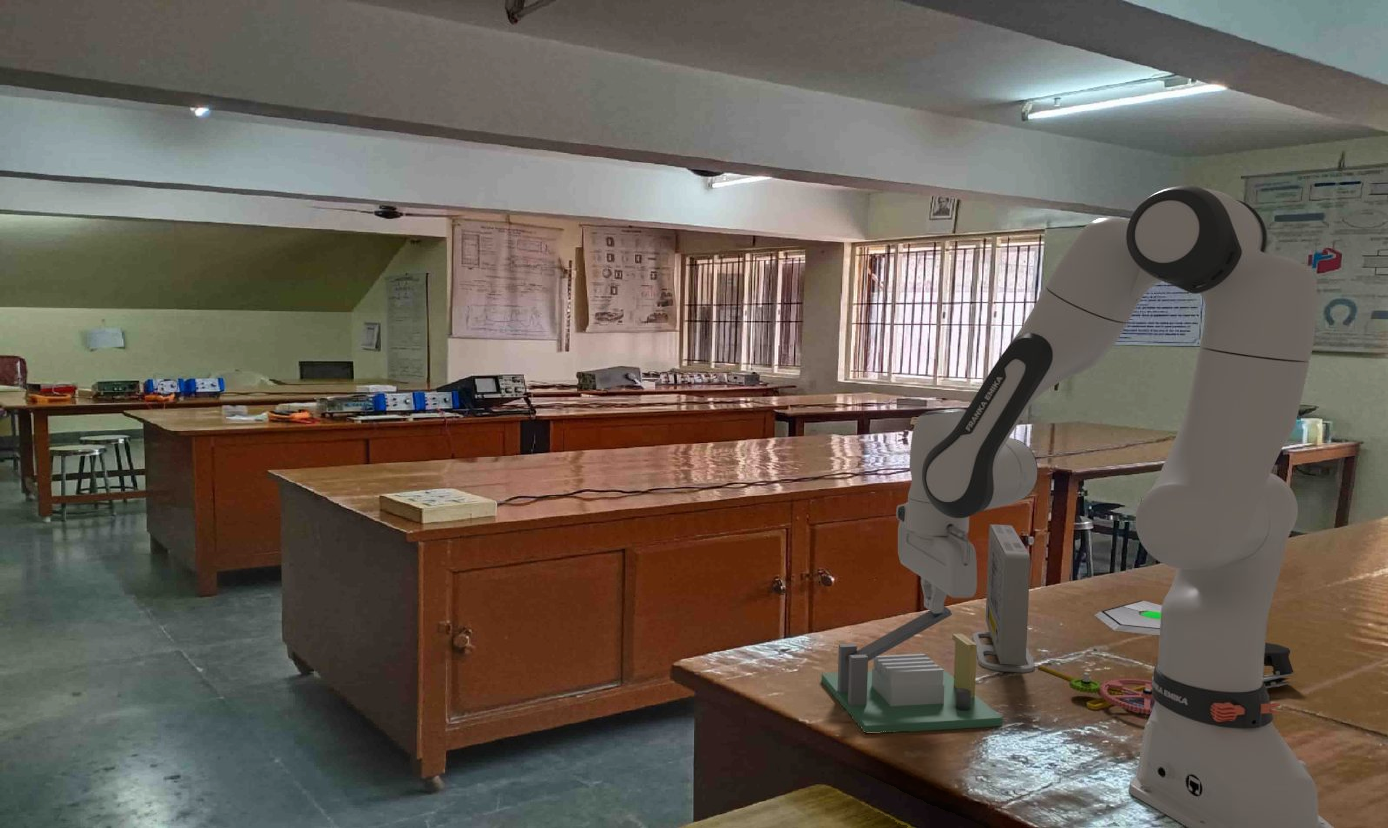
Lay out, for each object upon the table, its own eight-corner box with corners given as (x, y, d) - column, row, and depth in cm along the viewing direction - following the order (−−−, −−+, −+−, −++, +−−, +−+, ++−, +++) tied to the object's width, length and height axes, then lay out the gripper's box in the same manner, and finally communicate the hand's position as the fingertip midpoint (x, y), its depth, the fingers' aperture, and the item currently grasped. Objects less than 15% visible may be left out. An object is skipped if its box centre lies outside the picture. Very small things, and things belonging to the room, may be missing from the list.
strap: (952, 615, 141) (950, 609, 141) (854, 669, 139) (852, 663, 139) (943, 608, 144) (940, 603, 144) (847, 662, 142) (845, 656, 142)
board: (1002, 725, 134) (1004, 661, 133) (865, 733, 131) (867, 668, 130) (941, 674, 154) (943, 618, 153) (821, 680, 151) (822, 623, 150)
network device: (1040, 680, 152) (1045, 556, 150) (982, 676, 154) (987, 553, 152) (1019, 631, 177) (1023, 524, 175) (969, 628, 179) (974, 521, 177)
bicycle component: (1253, 693, 142) (1310, 680, 150) (1239, 644, 144) (1295, 634, 152) (1181, 698, 152) (1238, 686, 160) (1169, 652, 154) (1225, 642, 162)
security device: (1069, 623, 185) (1070, 613, 185) (1134, 605, 197) (1135, 595, 197) (1155, 648, 171) (1155, 637, 171) (1218, 627, 184) (1219, 617, 183)
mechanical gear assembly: (1188, 749, 128) (1248, 729, 136) (1190, 718, 128) (1251, 700, 136) (1007, 678, 154) (1067, 665, 162) (1008, 653, 153) (1068, 641, 161)
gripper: (991, 533, 131) (986, 632, 133) (930, 504, 151) (926, 590, 153) (947, 534, 130) (942, 633, 131) (892, 505, 150) (888, 591, 152)
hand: (933, 610), depth 142 cm, fingers closed, pressing on strap
